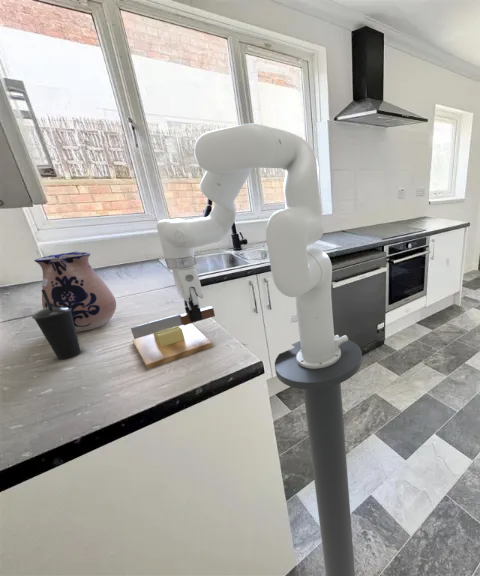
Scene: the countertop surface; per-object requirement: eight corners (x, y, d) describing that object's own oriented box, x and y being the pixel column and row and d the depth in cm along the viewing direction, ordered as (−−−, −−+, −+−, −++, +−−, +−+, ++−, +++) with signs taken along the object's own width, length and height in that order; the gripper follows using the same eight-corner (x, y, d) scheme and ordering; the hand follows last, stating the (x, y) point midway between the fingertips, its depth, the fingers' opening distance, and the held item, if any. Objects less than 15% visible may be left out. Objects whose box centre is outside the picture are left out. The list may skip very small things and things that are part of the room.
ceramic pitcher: (47, 344, 95) (13, 265, 87) (62, 320, 111) (35, 253, 103) (119, 328, 105) (95, 256, 96) (123, 309, 121) (103, 246, 113)
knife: (212, 314, 101) (210, 304, 100) (215, 316, 100) (212, 306, 99) (133, 337, 87) (129, 326, 86) (135, 340, 86) (131, 329, 84)
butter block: (176, 330, 99) (173, 320, 98) (181, 336, 95) (179, 326, 94) (154, 337, 95) (151, 326, 94) (158, 343, 91) (155, 332, 90)
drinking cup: (47, 365, 84) (16, 297, 77) (55, 353, 90) (27, 288, 83) (84, 356, 88) (58, 290, 81) (89, 345, 94) (66, 283, 87)
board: (191, 326, 105) (190, 322, 105) (212, 346, 92) (211, 342, 92) (133, 343, 94) (132, 339, 94) (147, 369, 81) (146, 364, 81)
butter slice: (182, 337, 95) (180, 327, 94) (184, 339, 93) (182, 329, 92) (159, 344, 91) (156, 334, 89) (161, 347, 89) (158, 336, 88)
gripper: (204, 264, 88) (216, 322, 94) (187, 255, 98) (199, 308, 104) (174, 269, 83) (189, 331, 89) (159, 260, 93) (174, 315, 99)
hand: (194, 318), depth 97 cm, fingers closed on knife, 2 cm apart
